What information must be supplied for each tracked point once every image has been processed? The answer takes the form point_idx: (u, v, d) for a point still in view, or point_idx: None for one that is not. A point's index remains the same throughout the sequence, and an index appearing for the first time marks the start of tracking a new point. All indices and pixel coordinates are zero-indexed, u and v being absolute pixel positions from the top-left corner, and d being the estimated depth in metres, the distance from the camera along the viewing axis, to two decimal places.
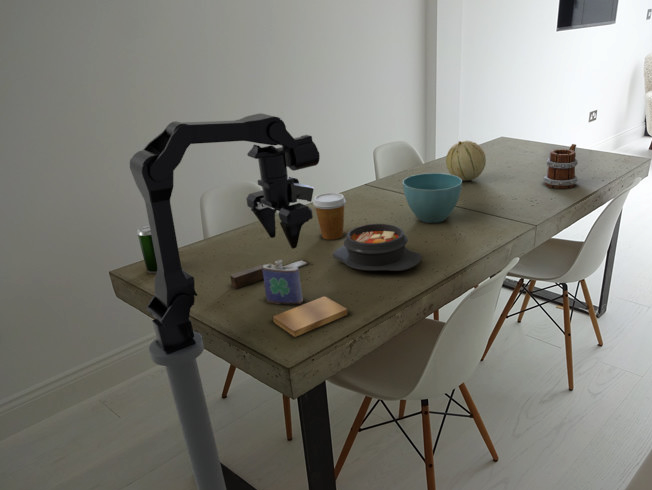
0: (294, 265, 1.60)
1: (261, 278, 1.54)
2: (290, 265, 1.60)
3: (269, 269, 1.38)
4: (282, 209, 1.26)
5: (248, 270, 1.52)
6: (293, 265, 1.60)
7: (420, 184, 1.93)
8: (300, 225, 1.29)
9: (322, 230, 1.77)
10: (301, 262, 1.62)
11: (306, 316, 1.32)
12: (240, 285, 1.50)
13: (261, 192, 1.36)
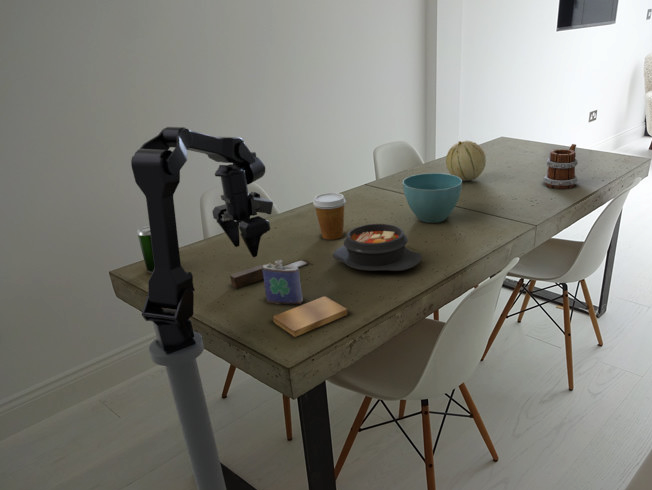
0: (294, 265, 1.60)
1: (261, 278, 1.54)
2: (290, 265, 1.60)
3: (269, 269, 1.38)
4: (242, 222, 1.39)
5: (248, 270, 1.52)
6: (293, 265, 1.60)
7: (420, 184, 1.93)
8: (259, 236, 1.43)
9: (322, 230, 1.77)
10: (301, 262, 1.62)
11: (306, 316, 1.32)
12: (240, 285, 1.50)
13: (226, 205, 1.50)
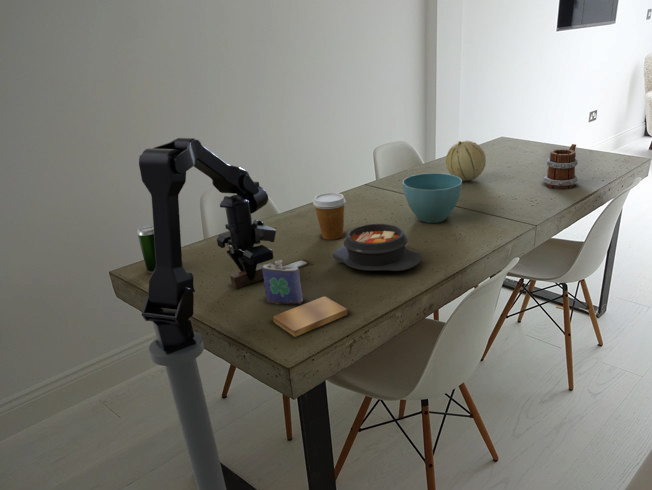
0: (294, 265, 1.60)
1: (261, 278, 1.54)
2: (290, 265, 1.60)
3: (269, 269, 1.38)
4: (246, 251, 1.43)
5: None
6: (293, 265, 1.60)
7: (420, 184, 1.93)
8: None
9: (322, 230, 1.77)
10: (301, 262, 1.62)
11: (306, 316, 1.32)
12: (240, 285, 1.50)
13: (230, 233, 1.53)
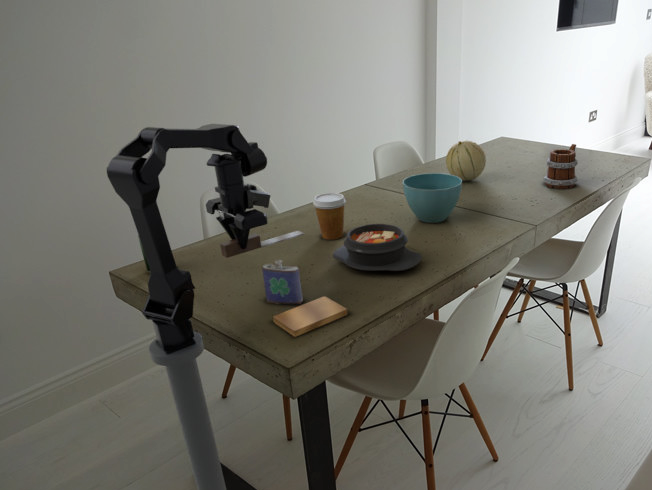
0: (290, 235, 1.48)
1: (254, 247, 1.41)
2: (285, 235, 1.48)
3: (269, 269, 1.38)
4: (237, 215, 1.30)
5: None
6: (289, 235, 1.48)
7: (420, 184, 1.93)
8: None
9: (322, 230, 1.77)
10: (297, 232, 1.50)
11: (306, 316, 1.32)
12: (231, 254, 1.38)
13: (220, 198, 1.41)
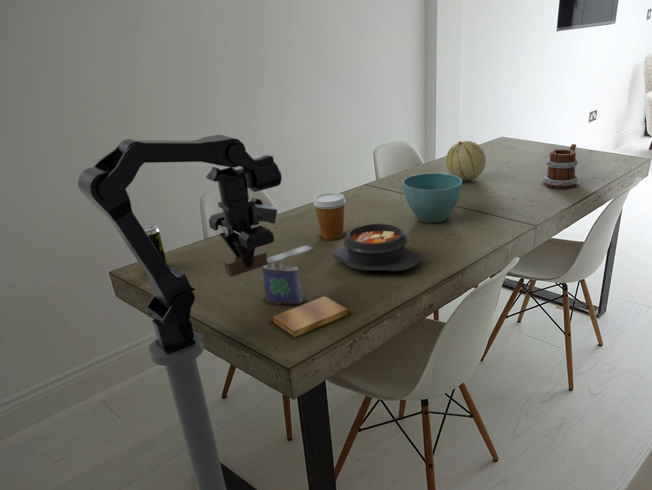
0: (298, 251, 1.40)
1: (260, 265, 1.34)
2: (293, 251, 1.40)
3: (269, 269, 1.38)
4: (242, 233, 1.23)
5: None
6: (297, 251, 1.40)
7: (420, 184, 1.93)
8: None
9: (322, 230, 1.77)
10: (306, 247, 1.42)
11: (306, 316, 1.32)
12: (236, 273, 1.30)
13: (224, 213, 1.33)
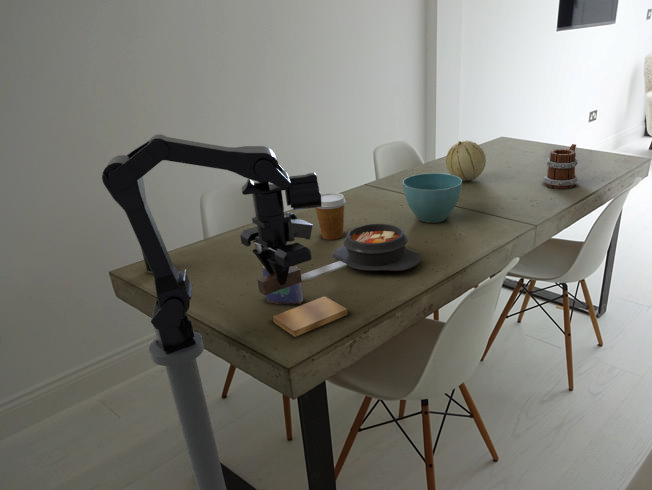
0: (332, 267, 1.34)
1: (294, 282, 1.27)
2: (327, 267, 1.34)
3: None
4: (278, 250, 1.16)
5: None
6: (330, 267, 1.34)
7: (420, 184, 1.93)
8: None
9: (322, 230, 1.77)
10: (340, 263, 1.36)
11: (306, 316, 1.32)
12: (269, 291, 1.24)
13: (256, 228, 1.27)
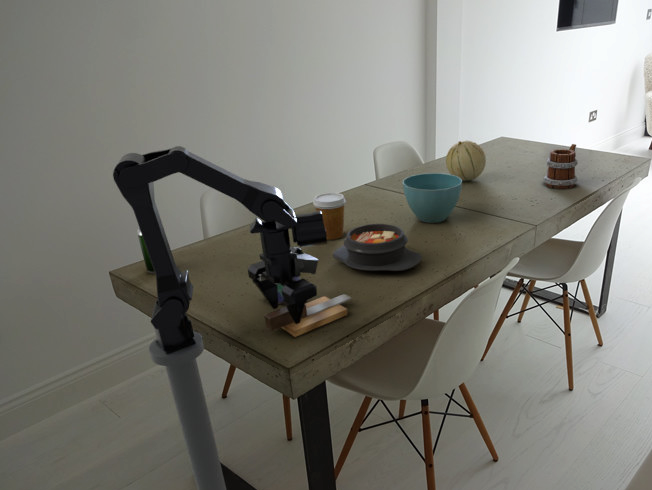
0: (336, 300, 1.38)
1: None
2: (332, 300, 1.38)
3: None
4: (285, 287, 1.20)
5: (285, 309, 1.30)
6: (335, 300, 1.38)
7: (420, 184, 1.93)
8: (304, 301, 1.24)
9: None
10: (344, 297, 1.39)
11: None
12: (276, 327, 1.28)
13: (263, 263, 1.31)
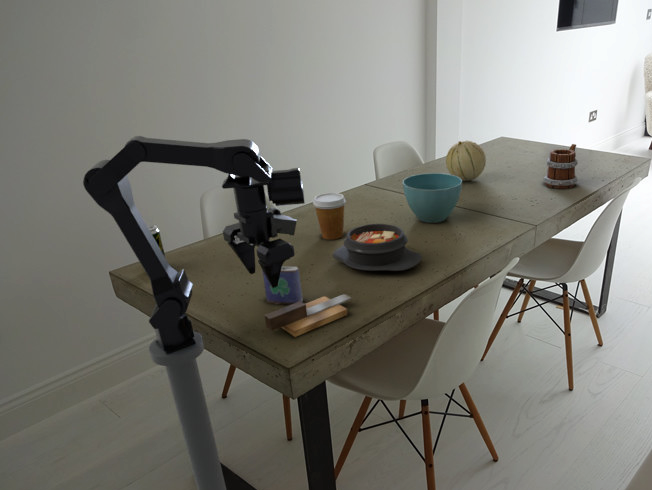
0: (336, 300, 1.38)
1: (300, 317, 1.31)
2: (332, 300, 1.38)
3: None
4: (260, 246, 1.13)
5: (285, 309, 1.30)
6: (335, 300, 1.38)
7: (420, 184, 1.93)
8: (281, 263, 1.17)
9: (322, 230, 1.77)
10: (344, 297, 1.39)
11: None
12: (276, 327, 1.28)
13: (239, 224, 1.24)
